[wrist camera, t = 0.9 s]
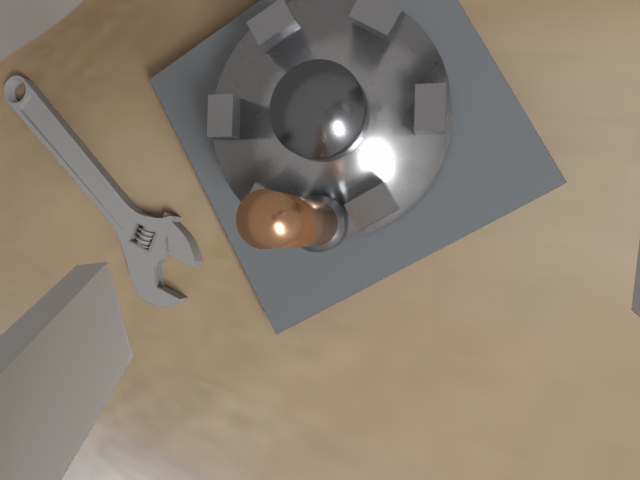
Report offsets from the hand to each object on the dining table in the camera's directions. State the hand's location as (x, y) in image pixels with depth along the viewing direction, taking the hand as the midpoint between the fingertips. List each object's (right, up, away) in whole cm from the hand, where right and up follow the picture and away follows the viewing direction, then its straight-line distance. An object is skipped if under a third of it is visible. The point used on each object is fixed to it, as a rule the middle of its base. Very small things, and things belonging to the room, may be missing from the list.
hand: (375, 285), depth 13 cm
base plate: (0, +9, +26) cm, 27 cm away
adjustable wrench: (-19, +6, +32) cm, 38 cm away
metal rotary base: (0, +9, +24) cm, 25 cm away
